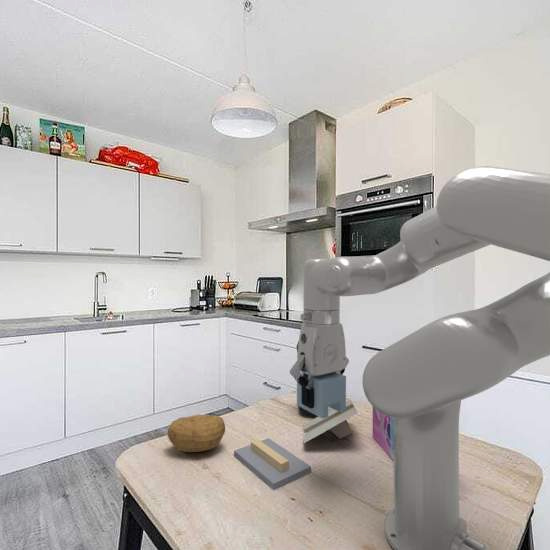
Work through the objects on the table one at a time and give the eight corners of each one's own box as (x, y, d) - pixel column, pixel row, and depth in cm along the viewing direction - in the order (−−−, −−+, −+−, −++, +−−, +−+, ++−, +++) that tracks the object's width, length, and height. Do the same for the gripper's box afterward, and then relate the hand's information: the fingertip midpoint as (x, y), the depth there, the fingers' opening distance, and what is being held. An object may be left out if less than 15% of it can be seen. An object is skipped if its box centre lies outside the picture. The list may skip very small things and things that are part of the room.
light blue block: (345, 410, 70) (346, 371, 69) (322, 418, 66) (322, 377, 66) (319, 398, 76) (319, 362, 76) (296, 405, 72) (297, 367, 72)
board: (311, 471, 73) (310, 458, 73) (273, 489, 67) (273, 474, 67) (268, 442, 86) (268, 431, 86) (234, 455, 80) (234, 442, 80)
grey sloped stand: (327, 473, 79) (374, 430, 80) (302, 443, 81) (348, 400, 81) (323, 449, 95) (362, 413, 96) (303, 424, 97) (341, 389, 97)
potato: (173, 440, 87) (173, 410, 87) (227, 439, 88) (227, 408, 88) (161, 461, 78) (161, 427, 78) (222, 460, 78) (222, 425, 78)
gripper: (300, 323, 63) (300, 419, 63) (363, 316, 73) (362, 398, 73) (277, 318, 69) (276, 405, 69) (337, 312, 79) (337, 388, 79)
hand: (320, 401), depth 71 cm, fingers closed on light blue block, 6 cm apart
